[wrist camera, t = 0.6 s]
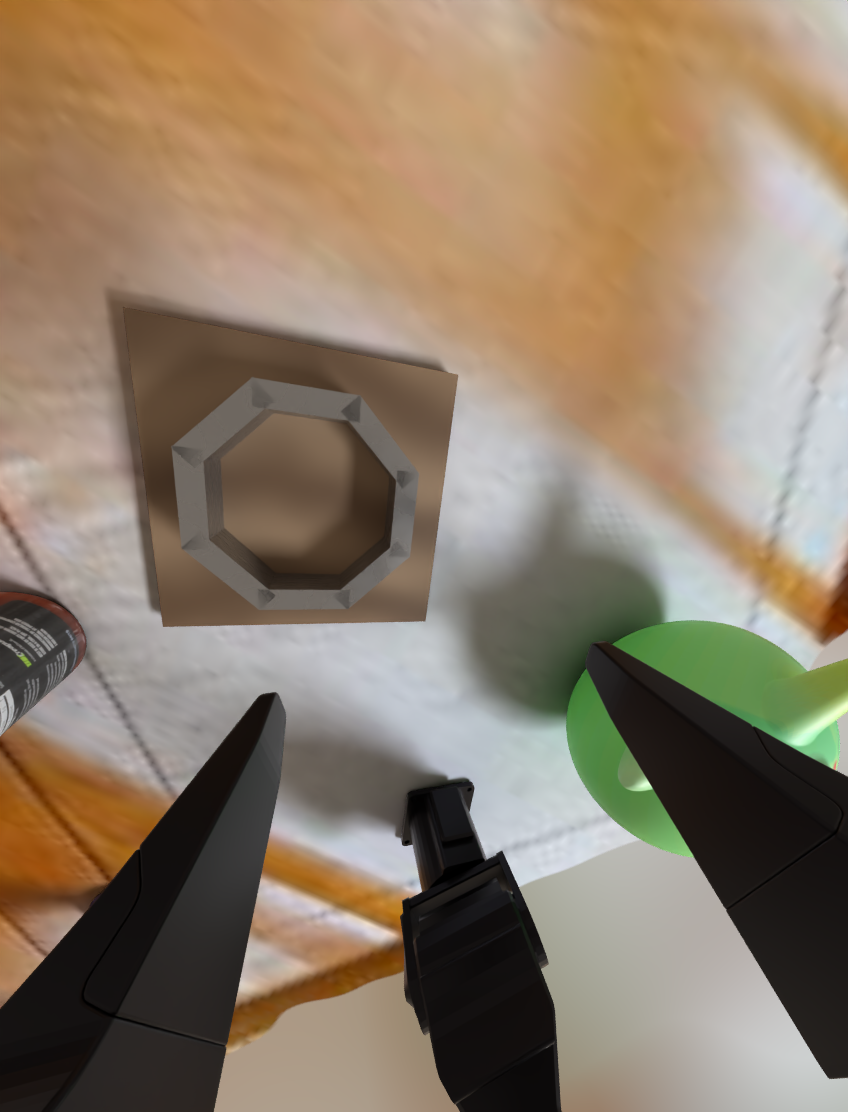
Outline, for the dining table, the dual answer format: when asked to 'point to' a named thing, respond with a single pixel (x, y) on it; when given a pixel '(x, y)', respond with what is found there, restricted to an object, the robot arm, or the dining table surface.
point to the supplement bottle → (34, 651)
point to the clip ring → (234, 560)
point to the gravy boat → (722, 677)
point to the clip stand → (286, 468)
